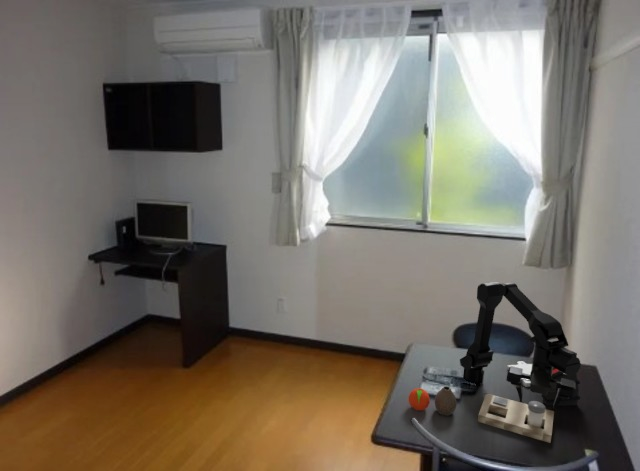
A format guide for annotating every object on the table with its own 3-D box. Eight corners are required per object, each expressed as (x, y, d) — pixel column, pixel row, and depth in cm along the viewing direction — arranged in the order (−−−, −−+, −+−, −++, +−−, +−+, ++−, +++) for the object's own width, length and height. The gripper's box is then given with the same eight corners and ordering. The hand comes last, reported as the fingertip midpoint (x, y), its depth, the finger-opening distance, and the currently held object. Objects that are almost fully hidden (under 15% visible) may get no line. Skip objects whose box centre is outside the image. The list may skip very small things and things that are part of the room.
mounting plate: (503, 366, 187) (504, 362, 187) (534, 364, 189) (535, 360, 189) (529, 391, 170) (529, 386, 170) (562, 389, 172) (563, 384, 171)
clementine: (428, 418, 153) (430, 398, 152) (406, 414, 155) (408, 395, 153) (429, 404, 161) (430, 385, 159) (408, 401, 162) (409, 382, 161)
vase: (456, 408, 159) (458, 384, 157) (454, 420, 152) (457, 395, 150) (435, 404, 161) (437, 380, 159) (432, 415, 155) (434, 391, 153)
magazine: (588, 401, 161) (575, 365, 157) (551, 417, 162) (537, 381, 158) (582, 395, 164) (569, 360, 161) (545, 410, 165) (532, 375, 162)
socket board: (477, 421, 152) (478, 413, 151) (485, 399, 164) (486, 392, 163) (550, 443, 142) (551, 434, 141) (553, 418, 154) (554, 410, 153)
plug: (524, 430, 148) (527, 407, 146) (526, 422, 152) (529, 399, 150) (541, 435, 146) (544, 411, 144) (542, 426, 150) (545, 403, 148)
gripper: (506, 363, 140) (501, 410, 144) (578, 380, 132) (570, 429, 136) (511, 348, 150) (506, 392, 154) (578, 363, 141) (571, 409, 145)
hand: (537, 406), depth 147 cm, fingers open, 9 cm apart
